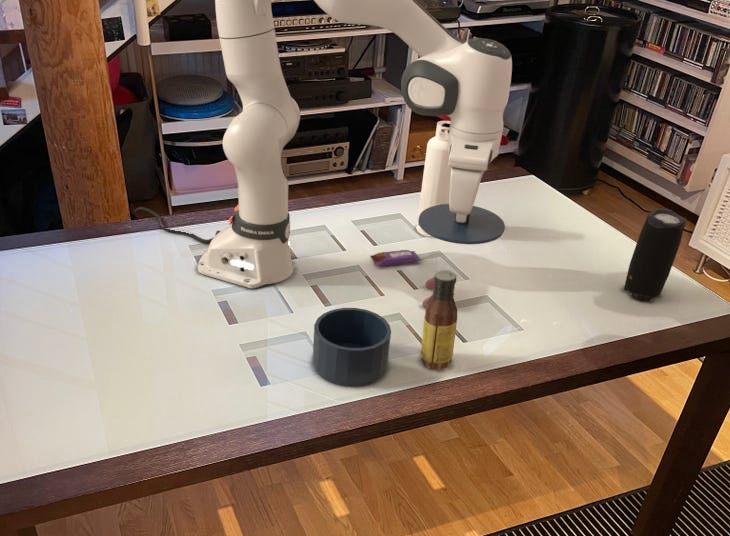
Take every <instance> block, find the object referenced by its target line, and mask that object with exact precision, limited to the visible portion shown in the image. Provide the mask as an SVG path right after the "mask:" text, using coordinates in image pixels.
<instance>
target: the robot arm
mask: <svg viewBox="0 0 730 536" xmlns="http://www.w3.org/2000/svg"><path fill="white" fill-rule="evenodd" d="M272 1H273V0H214V3H215V5H214V7H215V18H216V28H217V33H218V38H219V44H220V48H221V55H222V59H223V65H224V70H225V75H226V78H227V79H228V81H229V82H230V83H232V84H233V85H234V87H235V89H236V91H237V93H238V95H239V98H240V101H241V104H242V111H241V112H240V113H238V115H236V116H235V117H234V118H233V119H232V120H231V121H230V123H229V125H228V127H227V128H226V130H225V132H224V134H223V138H222V149H223V153H224V155H225V157H226V158H227V160H228V161H229V162H230V163H231V164H232V165H233V169H234V172H235V176H236V181H237V182H236V183H237V194H238V195H237V197H238V198H237V199H238V204H237V205H236V206H235V208H233V209H234V211H233V212H232V213H231V215H230V217H229V219H228V226H227V227H225V228H223V229H222V230H216V231H215V235H214V236H213V237H211V238H208V239H204V238H201V237H199V236H197V235H196V234H195V233H192V234H189V233H186V232H181V231H175V230H170V229H171V228H170V229H166V228H164V227H162V226H161V225H160V222H159V219H158V218H161V219H162V220H163V218H162V217H161V216H160V214H158V213H157V212H155V211H153V210H152V209H150V208H147V207H143V206H139V207H137V208H135V209H134V213H139V212H145V213H148V214H150V215H152V217H153V216H154V217H155V218H157V220H158V225H159V227H160V228H161V229H162V230H164V231H166V232H168V233H173V234H180V235H184V236H188V237H190V238H192V239H194V240H196V241H197V242H199V243H202V244H209V245H208V249H207V250H206V251H205V252H204V253H203V254H202V256H201V257H200V259H199V261H198V263H197V271H198V274H201V275H204V276H208V277H210V278H214V279H217V280H221V281H223V282H227V283H231V284H234V285H238V286H240V287H244V288H247V289H257V288H259V287H262V286H265V285H271V284H276V283H280V282H282V281H283V282H284V281H285V280H287V279H289V278H290V277H291V276H292V275H293V273H294V271H295V268H294V264H293V260H292V257H291V250H290V241H289V239H290V235H291V216H290V212H289V180H288V179H287V176H285V175H284V171H283V166H282V153H283V149H284V147H285V146H286V145H287V144H288V143H289V142H291V140H292V139H293V138H294V136H295V134H296V133H297V130H298V129H299V125H300V121H301V110H300V107H299V105H298V103H297V102H296V100H295V99H294V98H293V97H292V96H291V93H290V91H289V87H288V86H287V83H286V80H285V76H284V74H283V70H282V65H281V61H280V55H279V49H278V43H277V42H278V41H277V35H276V30H275V23H274V17H273V12H272V11H273V10H272ZM313 2H315V4H316V5H317V6H318V8H320V9H321V10H322V11H323V12H324V13H326V14H327V15H329V16H330V17H331V18H333V19H334V20H336V21H337V22H339V23H342V24H347V25H366V26H372V27H379V28H382V29H385V30H388V31H390V32H391V33H393V34H395V35H396V36H398V38H400V39H401V40H402V41H403V42H404V43H405V44H406V45H407V46H408V47H409V48H410V49H411V50H412V51H414V52H415V53H416V54H417V55H418V56H419V58H418V59H415V60H413V61H412V62H410V63H409V64H408V65H407V66H406V67H405V69H404V71H403V73H402V76H401V81H400V90H401V91H400V92H401V97H402V98H403V101H404V103H405V104H406V106H407V107H408V108H409V109H410V111H412V112H414V114H415V113H416V114H418V115H421V116H428V117H446V116H447V117H449V119H450V121H451V122H450V124H449V127H450V130H448V133H449V137H448V144H447V151H448V154H449V160H448V166H450V167H451V175H450V193H449V208H450V211H451V212H453V213H457V215H456V221H457V222H462V223H464V222H465V221H466V218H467V214H470V213H471V211H472V208H473V206H475V205H474V203H475V201H476V198H477V195H478V191H479V187H480V184H481V181H482V178H483V176H484V173H485V172H486V171H488V168H489V167H490V164H491V162H492V161H493V160H494V159H495V158H497V157H498V156H499V153H500V147H501V143H502V136H503V131H504V112H505V110H506V107H507V106H508V102H509V97H510V91H511V85H512V75H513V74H512V72H513V59H512V54H511V51H510V50H509V49H508V48H507V47H506V46H505V44H503V43H500V42H498V41H497V40H494V39H490V38H482V37H473V38H469V39H468V40H466V39H464V38H461V37H458V36H457V35H455V34H453V33H452V32H451V31H450V30H449V29H447V28H446V27H445V26H444V25H443V24H442V23H441V22H440V21H438V20H437V18H435V17H434V16H433V15H432V13H430V12H429V11H428V10H427V9H426V8H425V7H424V6H422V4H421V3H419V2H418V1H417V0H313Z"/></svg>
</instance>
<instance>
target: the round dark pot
mask: <svg viewBox="0 0 730 536" xmlns="http://www.w3.org/2000/svg"><path fill="white" fill-rule="evenodd" d="M313 326H314V327H313V345H312V366H313V369H314V371H315V372H316V373H317V375H318V376H319V377H321V378H322V379H324V380H325V381H327V382H329V383H331V384H335V385H338V386H342V387H350V388H351V387H352V388H353V387H355V388H356V387H364V386H368V385H371V384H374V383H376V382H377V381H379V380H380V379H382V378H383V376H384V375H385V374H386V371H387V367H388V363H389V354H390V346H391V337H392V330H391V325H390V323H389V322H388V321H387V320H386V318H384V317H382V316H381V315H380V314H378V313H376V312H374V311H371V310H368V309H364V308H359V307H340V308H335V309H331V310H328V311H326V312H324V313H322V314H320V315H319V317H317V319H316V320H315V323H314V325H313Z"/></svg>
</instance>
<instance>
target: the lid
mask: <svg viewBox="0 0 730 536" xmlns="http://www.w3.org/2000/svg"><path fill="white" fill-rule="evenodd" d="M456 215H457V213H453V212H451V211H450V208H449V204H441V205H436V206H432V207H429V208H427V209H425V210H424V211H422V213H421V214H420V215H419V220H418V219H417V222H419V225H420V227H421V229H422V230H423V231H425V232H426V233H427V234H429V235H431V236H433V237H432V238H435V239H437V240H439V241H443V242H447V243H452V244H458V245H459V244H460V245H481V244H487V243H490V242H494V241H497V240H498V239H500V238H501V237H502V236H503V234H504V233H505V230H506V225H505V222H504V220H503V219H502V218H501V217H500V216H499V215H497V214H496V213H495V212H493V211H491V210H489V209H486V208H483V207H479V206H476V205H473V208H472V211H471V213H470V214H467V218H466V221H465V222H464V223H462V222H457V221H456Z"/></svg>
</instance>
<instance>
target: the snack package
mask: <svg viewBox="0 0 730 536" xmlns="http://www.w3.org/2000/svg"><path fill="white" fill-rule="evenodd" d="M369 257H370V258H371V260H372V261H373V263H374V264H375V265H376V266H377V267H379V266H380V267H383V268H384V267H396V266H403V265H404V266H405V265H410V264H414V263H417V262H421V261H422V259H421V257H420V256H419V255H418V254H417V252H415V250H410V249H401V250H400V249H399V250H392V251H383V252H377V253H375V254H372V255H369Z"/></svg>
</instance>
